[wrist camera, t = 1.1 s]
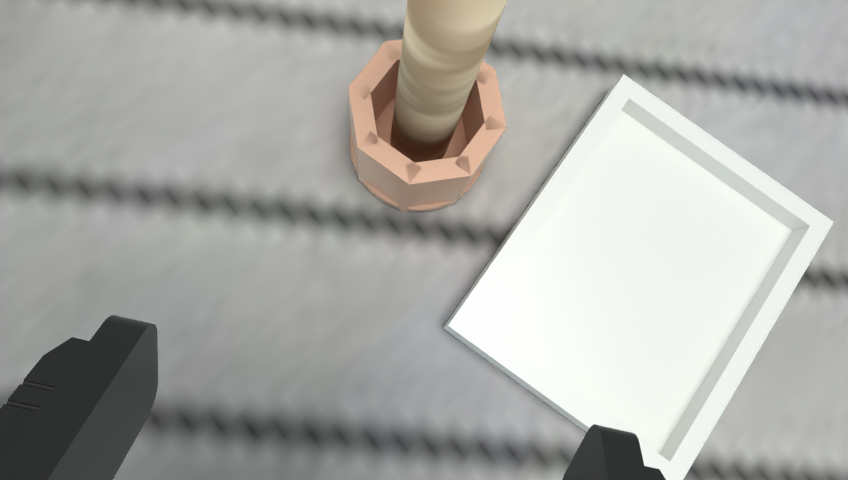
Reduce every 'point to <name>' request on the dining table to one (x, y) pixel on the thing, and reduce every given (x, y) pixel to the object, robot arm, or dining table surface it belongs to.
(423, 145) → the wooden pin
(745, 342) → the tray
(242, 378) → the dining table surface
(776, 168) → the dining table surface
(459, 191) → the holder cup
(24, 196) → the dining table surface
